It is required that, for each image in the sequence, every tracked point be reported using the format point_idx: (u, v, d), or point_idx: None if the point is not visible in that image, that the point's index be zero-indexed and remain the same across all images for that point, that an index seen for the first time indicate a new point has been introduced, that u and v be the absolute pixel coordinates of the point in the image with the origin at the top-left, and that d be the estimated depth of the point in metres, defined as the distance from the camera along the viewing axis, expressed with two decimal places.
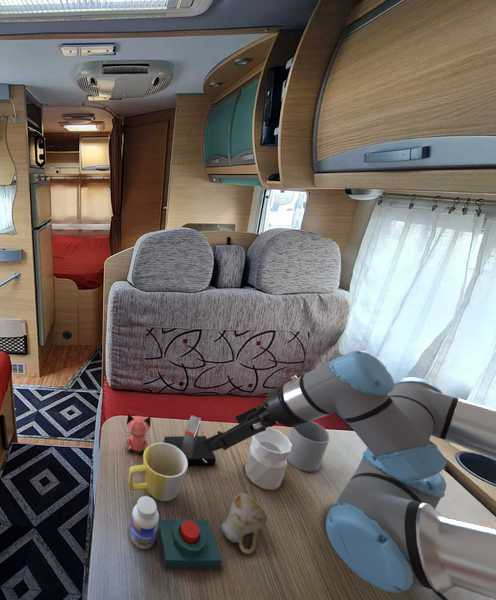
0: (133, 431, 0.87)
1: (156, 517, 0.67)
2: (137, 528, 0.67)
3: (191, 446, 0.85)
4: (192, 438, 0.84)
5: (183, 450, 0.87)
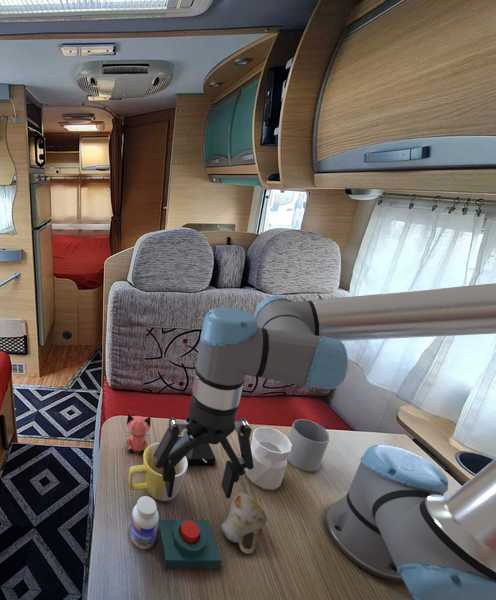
0: (133, 431, 0.87)
1: (156, 517, 0.67)
2: (137, 528, 0.67)
3: None
4: None
5: None
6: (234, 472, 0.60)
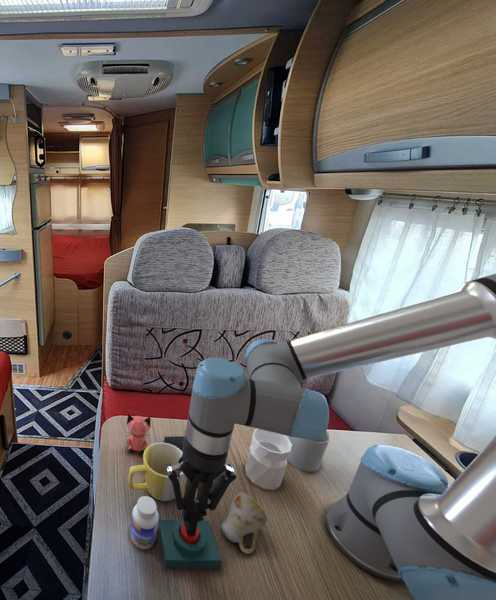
0: (133, 431, 0.87)
1: (156, 517, 0.67)
2: (137, 528, 0.67)
3: None
4: None
5: None
6: (197, 513, 0.63)
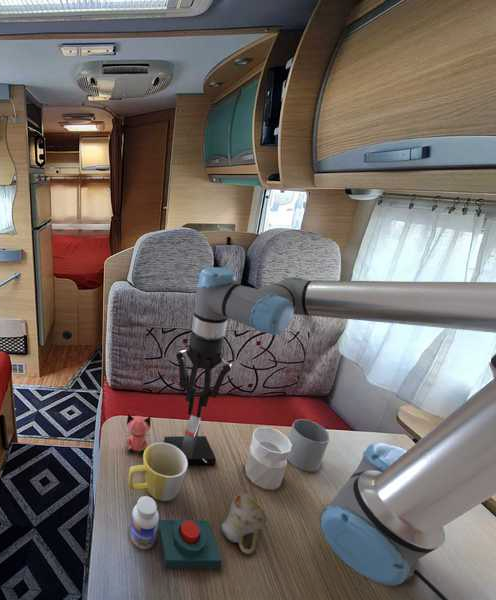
0: (133, 431, 0.87)
1: (156, 517, 0.67)
2: (137, 528, 0.67)
3: (191, 446, 0.85)
4: (192, 438, 0.84)
5: (183, 450, 0.87)
6: (201, 396, 0.82)
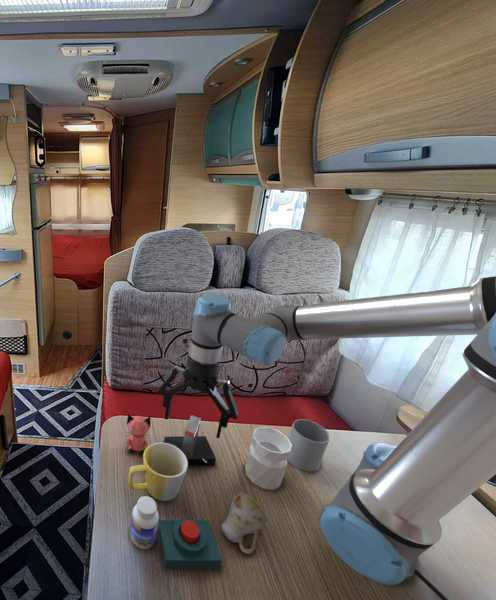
0: (133, 431, 0.87)
1: (156, 517, 0.67)
2: (137, 528, 0.67)
3: (191, 446, 0.85)
4: (192, 438, 0.84)
5: (183, 450, 0.87)
6: (222, 418, 0.81)
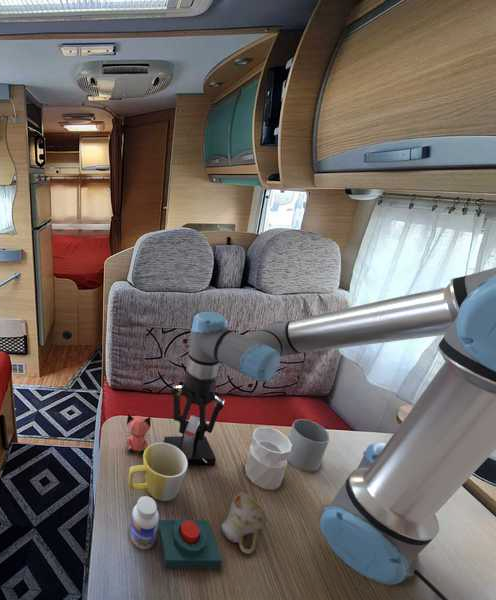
0: (133, 431, 0.87)
1: (156, 517, 0.67)
2: (137, 528, 0.67)
3: (191, 446, 0.85)
4: (192, 438, 0.84)
5: (183, 450, 0.87)
6: (198, 431, 0.86)
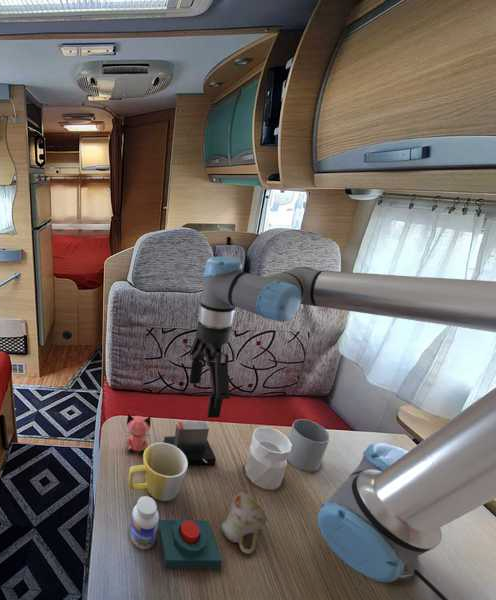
0: (133, 431, 0.87)
1: (156, 517, 0.67)
2: (137, 528, 0.67)
3: (177, 438, 0.88)
4: (178, 430, 0.87)
5: (174, 439, 0.90)
6: (212, 394, 0.75)
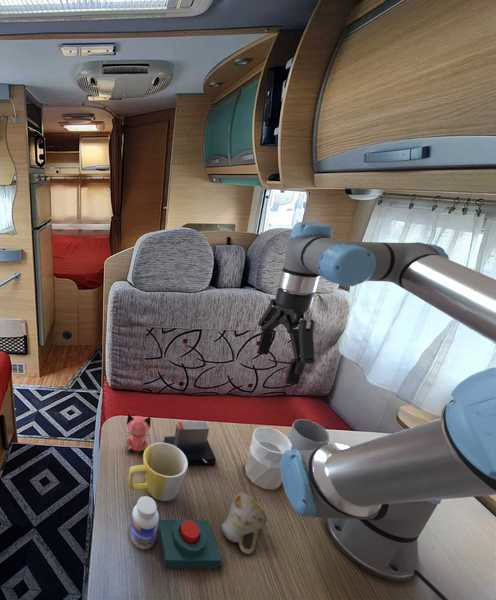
0: (133, 431, 0.87)
1: (156, 517, 0.67)
2: (137, 528, 0.67)
3: (177, 438, 0.88)
4: (178, 430, 0.87)
5: (174, 439, 0.90)
6: (293, 360, 0.76)
